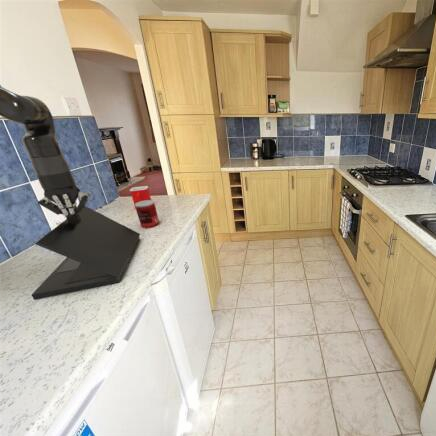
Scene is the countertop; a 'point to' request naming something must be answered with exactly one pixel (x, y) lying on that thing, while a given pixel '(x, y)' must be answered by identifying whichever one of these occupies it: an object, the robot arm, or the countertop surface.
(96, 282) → the laptop
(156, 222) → the canned food
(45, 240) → the laptop screen
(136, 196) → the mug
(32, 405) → the countertop surface
